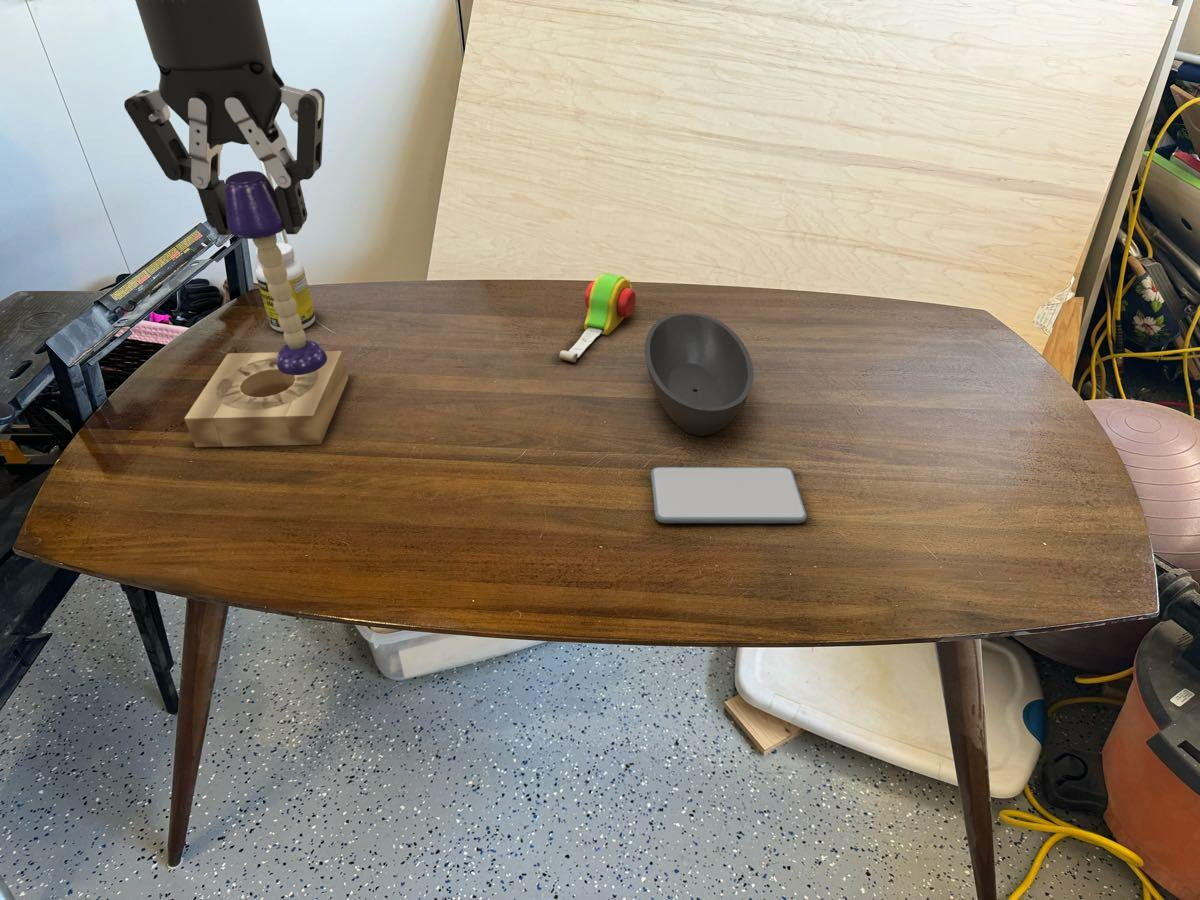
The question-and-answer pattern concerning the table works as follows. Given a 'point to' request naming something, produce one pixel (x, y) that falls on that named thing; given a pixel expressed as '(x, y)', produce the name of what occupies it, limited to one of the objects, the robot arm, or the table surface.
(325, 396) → the socket base
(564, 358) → the toy measuring tape
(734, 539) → the table surface
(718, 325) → the bowl
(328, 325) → the table surface
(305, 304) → the pill bottle
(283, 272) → the toy lamp
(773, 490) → the smartphone
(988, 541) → the table surface
